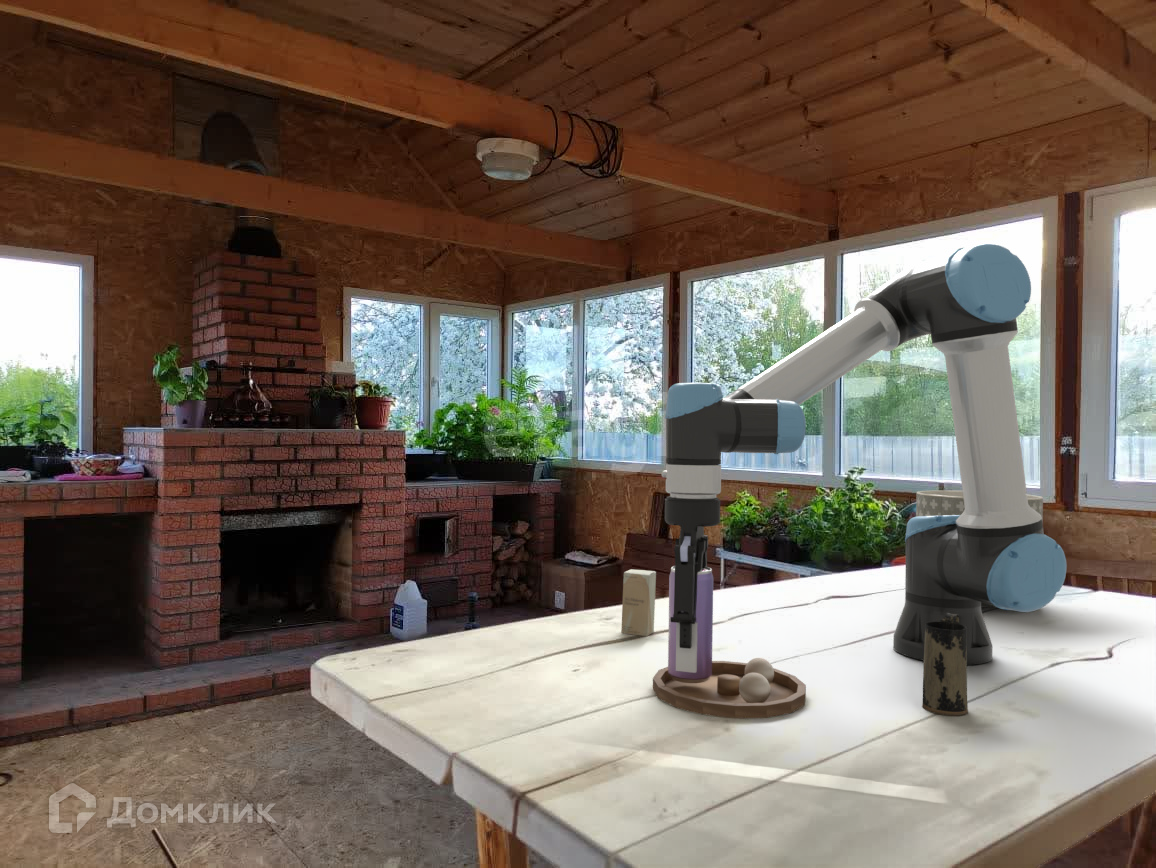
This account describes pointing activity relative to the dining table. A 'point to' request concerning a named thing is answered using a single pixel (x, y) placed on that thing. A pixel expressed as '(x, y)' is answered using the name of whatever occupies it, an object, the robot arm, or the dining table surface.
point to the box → (638, 602)
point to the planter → (957, 506)
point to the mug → (945, 667)
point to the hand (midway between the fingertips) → (690, 664)
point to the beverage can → (703, 629)
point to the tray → (730, 704)
